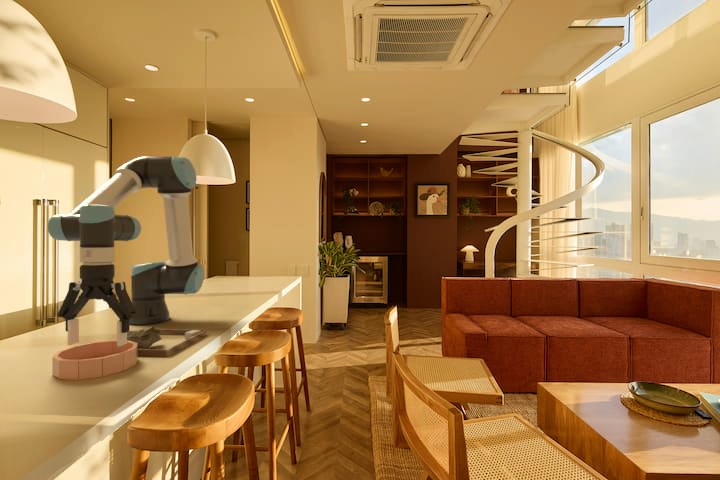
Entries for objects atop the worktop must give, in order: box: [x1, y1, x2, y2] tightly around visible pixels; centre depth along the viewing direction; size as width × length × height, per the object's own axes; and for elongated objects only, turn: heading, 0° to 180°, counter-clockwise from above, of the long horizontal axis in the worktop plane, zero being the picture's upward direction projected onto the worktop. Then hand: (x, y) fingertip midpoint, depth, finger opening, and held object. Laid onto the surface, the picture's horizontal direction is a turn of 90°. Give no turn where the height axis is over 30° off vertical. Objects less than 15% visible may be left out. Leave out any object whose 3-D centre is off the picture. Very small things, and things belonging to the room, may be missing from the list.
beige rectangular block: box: [184, 329, 201, 340], centre depth 126 cm, size 4×3×2 cm
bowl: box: [51, 339, 139, 381], centre depth 98 cm, size 18×18×4 cm
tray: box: [138, 328, 208, 358], centre depth 119 cm, size 23×21×2 cm
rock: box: [127, 326, 163, 349], centre depth 113 cm, size 11×6×10 cm
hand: (97, 344), depth 98 cm, fingers open, 13 cm apart
